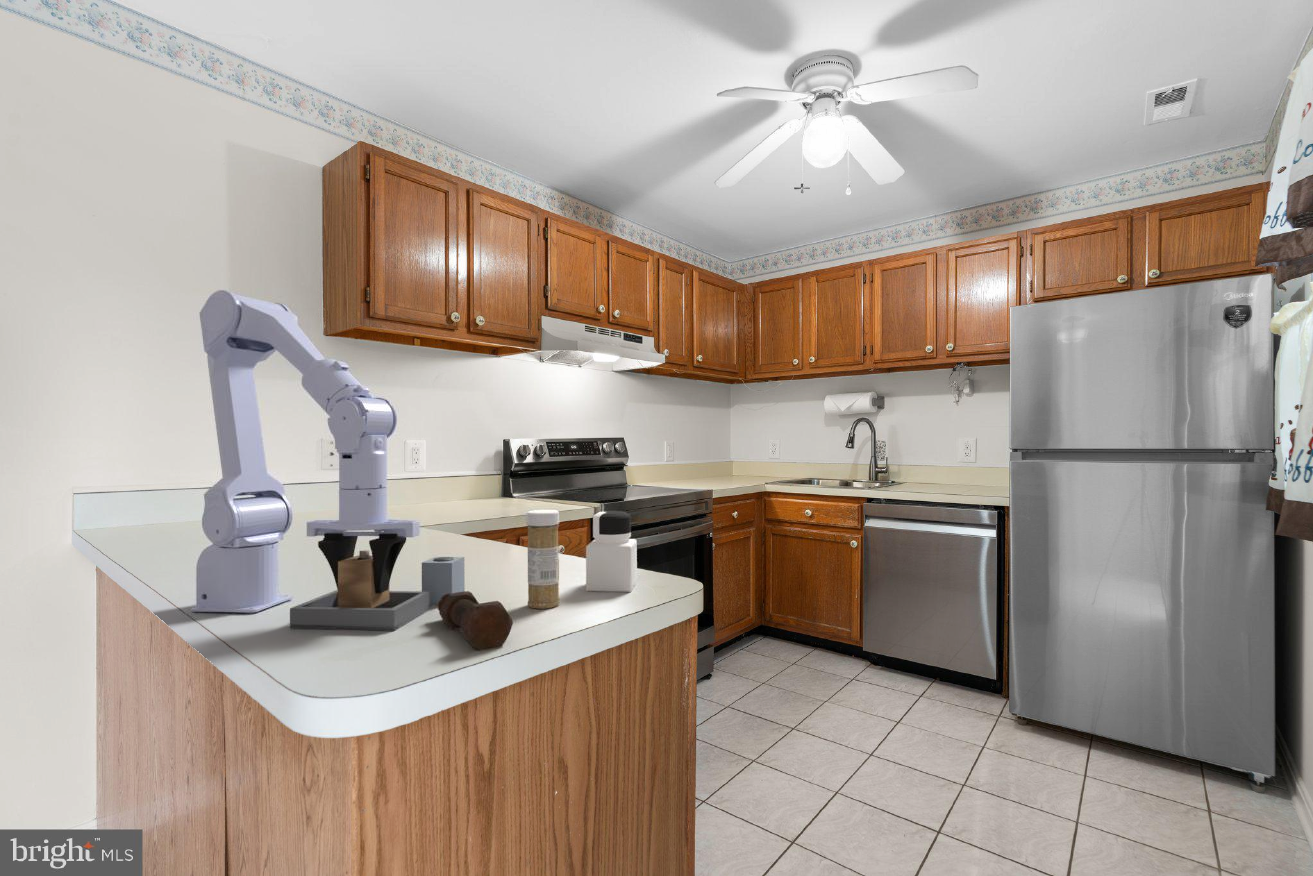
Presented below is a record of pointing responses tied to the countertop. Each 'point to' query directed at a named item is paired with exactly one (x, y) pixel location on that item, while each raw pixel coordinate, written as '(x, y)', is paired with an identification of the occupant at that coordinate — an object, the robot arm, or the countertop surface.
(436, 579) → the oversize block
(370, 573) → the block
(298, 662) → the countertop surface
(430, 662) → the countertop surface
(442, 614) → the bolt
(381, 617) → the tray
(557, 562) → the sprinkles bottle
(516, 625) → the countertop surface
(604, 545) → the medicine bottle
